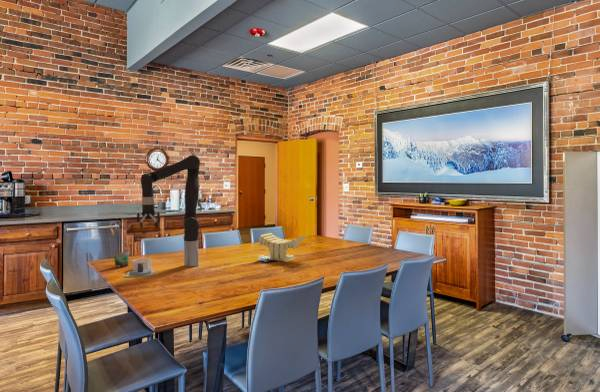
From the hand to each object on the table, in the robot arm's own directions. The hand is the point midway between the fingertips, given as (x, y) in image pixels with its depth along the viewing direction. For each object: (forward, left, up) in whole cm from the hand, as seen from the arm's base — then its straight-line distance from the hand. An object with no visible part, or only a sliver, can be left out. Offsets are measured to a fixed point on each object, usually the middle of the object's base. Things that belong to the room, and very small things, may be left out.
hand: (149, 227), depth 244 cm
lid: (+3, +17, -26) cm, 31 cm away
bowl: (+4, +4, -27) cm, 27 cm away
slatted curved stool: (-91, -1, -27) cm, 95 cm away
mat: (+3, +17, -27) cm, 32 cm away
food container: (+17, -7, -27) cm, 33 cm away
